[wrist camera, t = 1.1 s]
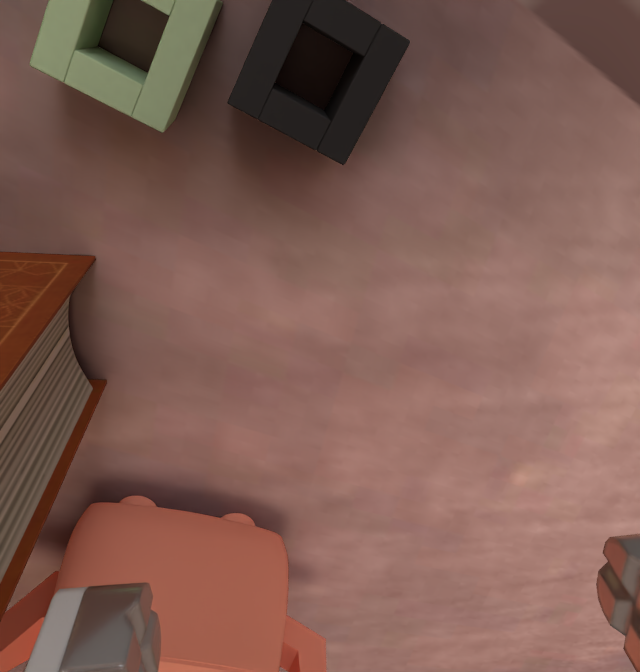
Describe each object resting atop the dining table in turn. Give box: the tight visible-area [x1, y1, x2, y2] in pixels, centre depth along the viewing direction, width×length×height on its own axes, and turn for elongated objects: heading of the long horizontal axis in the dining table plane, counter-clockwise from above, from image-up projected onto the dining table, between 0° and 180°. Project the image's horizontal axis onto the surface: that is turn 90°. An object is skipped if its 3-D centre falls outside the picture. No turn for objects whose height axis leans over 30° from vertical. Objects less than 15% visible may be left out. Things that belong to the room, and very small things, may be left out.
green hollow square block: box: [30, 0, 223, 133], centre depth 27 cm, size 6×6×4 cm
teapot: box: [0, 495, 326, 672], centre depth 38 cm, size 22×13×14 cm, turn 73°
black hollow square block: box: [228, 0, 410, 165], centre depth 29 cm, size 6×6×4 cm
